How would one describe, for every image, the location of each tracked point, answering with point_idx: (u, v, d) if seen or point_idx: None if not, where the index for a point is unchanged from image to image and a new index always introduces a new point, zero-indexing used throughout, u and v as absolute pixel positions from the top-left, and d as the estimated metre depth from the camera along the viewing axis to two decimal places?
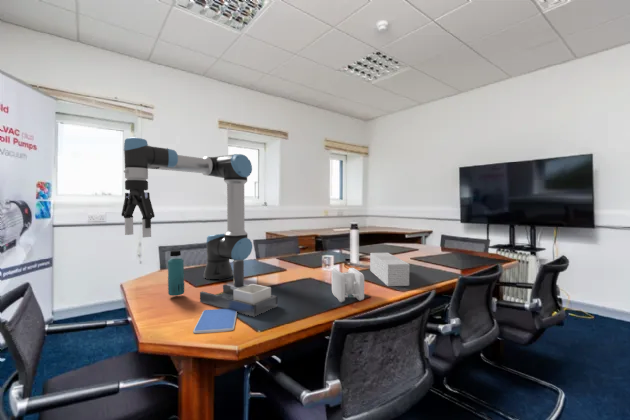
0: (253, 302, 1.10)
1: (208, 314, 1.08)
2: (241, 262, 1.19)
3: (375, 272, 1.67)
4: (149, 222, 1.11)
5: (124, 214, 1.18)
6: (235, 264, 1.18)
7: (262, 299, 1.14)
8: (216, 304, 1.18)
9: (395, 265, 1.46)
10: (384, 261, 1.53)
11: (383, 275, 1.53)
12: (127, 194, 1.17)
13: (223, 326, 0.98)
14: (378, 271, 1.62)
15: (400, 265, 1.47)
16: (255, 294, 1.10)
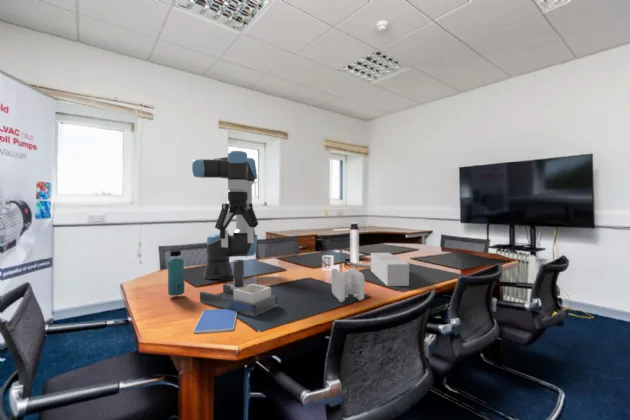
0: (253, 302, 1.10)
1: (208, 314, 1.08)
2: (241, 262, 1.19)
3: (375, 272, 1.67)
4: (221, 233, 1.12)
5: None
6: (235, 264, 1.18)
7: (262, 299, 1.14)
8: (216, 304, 1.18)
9: (395, 265, 1.46)
10: (384, 261, 1.53)
11: (383, 275, 1.53)
12: None
13: (223, 326, 0.98)
14: (378, 271, 1.62)
15: (400, 265, 1.46)
16: (255, 294, 1.10)
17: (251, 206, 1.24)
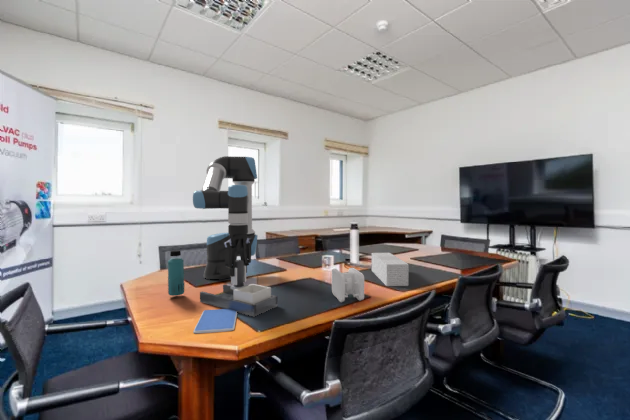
0: (253, 302, 1.10)
1: (208, 314, 1.08)
2: (241, 262, 1.19)
3: (376, 272, 1.67)
4: (231, 271, 1.17)
5: None
6: None
7: (262, 299, 1.14)
8: (216, 304, 1.18)
9: (394, 265, 1.46)
10: (383, 261, 1.53)
11: (382, 275, 1.53)
12: None
13: (223, 326, 0.98)
14: (378, 271, 1.62)
15: (399, 265, 1.46)
16: (255, 294, 1.10)
17: (250, 241, 1.24)
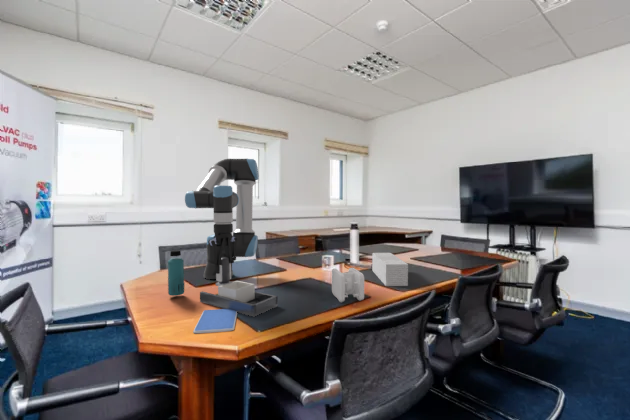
0: (236, 298, 1.15)
1: (208, 314, 1.08)
2: (226, 260, 1.24)
3: (376, 272, 1.67)
4: (216, 268, 1.22)
5: None
6: None
7: (245, 295, 1.19)
8: (216, 304, 1.18)
9: (393, 265, 1.46)
10: (383, 261, 1.53)
11: (382, 275, 1.53)
12: None
13: (223, 326, 0.98)
14: (378, 271, 1.62)
15: (398, 265, 1.46)
16: (238, 290, 1.15)
17: (235, 240, 1.29)
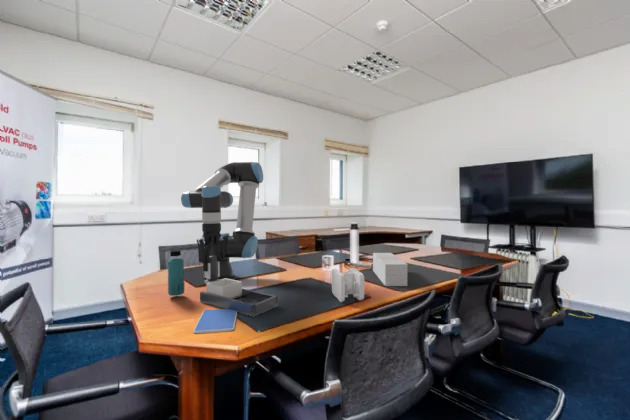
0: (223, 295, 1.19)
1: (208, 314, 1.08)
2: (214, 258, 1.27)
3: (376, 272, 1.68)
4: (205, 266, 1.26)
5: (217, 257, 1.32)
6: None
7: (233, 292, 1.23)
8: (216, 304, 1.18)
9: (393, 265, 1.46)
10: (383, 261, 1.53)
11: (382, 275, 1.53)
12: None
13: (223, 326, 0.98)
14: (378, 271, 1.62)
15: (398, 265, 1.46)
16: (225, 287, 1.19)
17: (224, 239, 1.33)
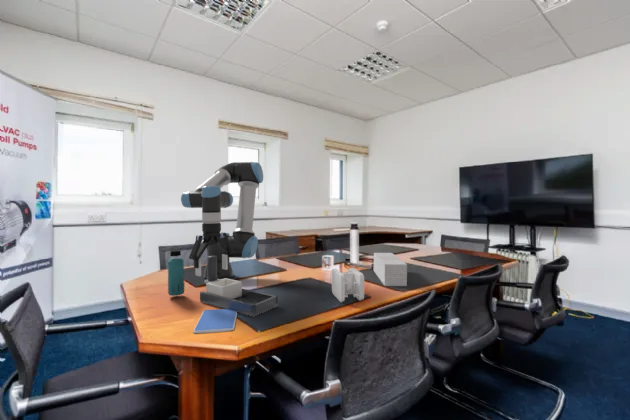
0: (223, 294, 1.19)
1: (208, 314, 1.08)
2: (214, 258, 1.27)
3: (376, 272, 1.68)
4: (195, 263, 1.22)
5: None
6: (208, 260, 1.27)
7: (233, 292, 1.23)
8: (216, 304, 1.18)
9: (392, 265, 1.46)
10: (382, 261, 1.53)
11: (381, 275, 1.53)
12: None
13: (223, 326, 0.98)
14: (378, 271, 1.62)
15: (397, 265, 1.46)
16: (225, 287, 1.19)
17: (225, 235, 1.33)
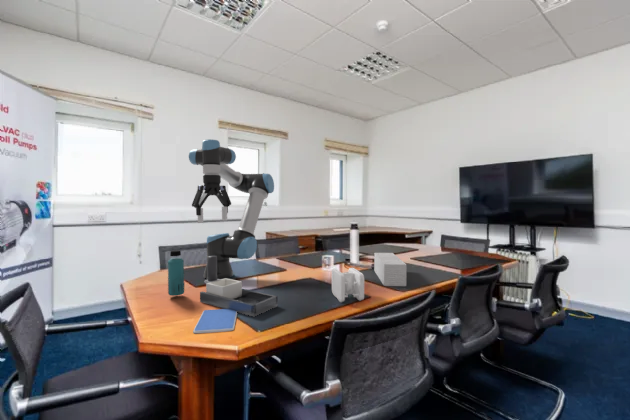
0: (223, 294, 1.19)
1: (208, 314, 1.08)
2: (214, 258, 1.27)
3: (377, 272, 1.68)
4: (197, 210, 1.31)
5: None
6: (208, 260, 1.27)
7: (233, 292, 1.23)
8: (216, 304, 1.18)
9: (391, 265, 1.46)
10: (382, 261, 1.53)
11: (381, 275, 1.53)
12: None
13: (223, 326, 0.98)
14: (378, 271, 1.62)
15: (397, 265, 1.46)
16: (225, 287, 1.19)
17: (224, 188, 1.42)
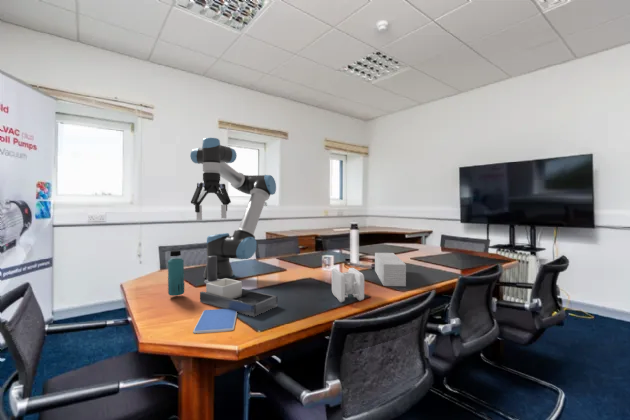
0: (223, 294, 1.19)
1: (208, 314, 1.08)
2: (214, 258, 1.27)
3: (377, 272, 1.68)
4: (196, 207, 1.31)
5: None
6: (208, 260, 1.27)
7: (233, 292, 1.23)
8: (216, 304, 1.18)
9: (391, 265, 1.46)
10: (382, 261, 1.53)
11: (381, 275, 1.54)
12: None
13: (223, 326, 0.98)
14: (378, 271, 1.62)
15: (396, 265, 1.46)
16: (225, 287, 1.19)
17: (224, 186, 1.43)
